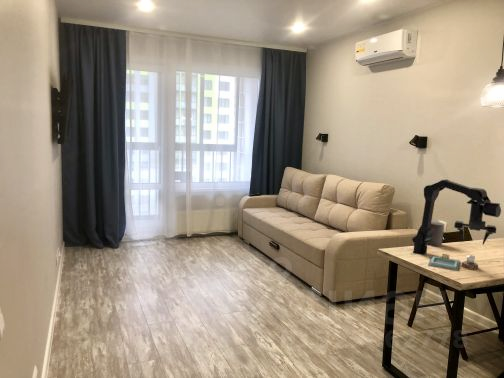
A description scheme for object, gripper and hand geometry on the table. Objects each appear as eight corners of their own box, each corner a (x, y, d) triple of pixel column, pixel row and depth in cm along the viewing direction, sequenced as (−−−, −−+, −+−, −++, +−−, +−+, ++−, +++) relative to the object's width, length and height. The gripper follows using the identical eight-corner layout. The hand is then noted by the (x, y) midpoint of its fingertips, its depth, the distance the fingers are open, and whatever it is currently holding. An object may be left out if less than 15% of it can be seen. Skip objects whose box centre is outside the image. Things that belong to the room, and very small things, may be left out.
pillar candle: (425, 245, 252) (427, 221, 250) (424, 241, 261) (427, 218, 259) (442, 247, 249) (445, 223, 246) (441, 243, 258) (444, 220, 255)
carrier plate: (428, 265, 213) (428, 260, 212) (431, 256, 228) (432, 251, 228) (457, 271, 206) (458, 265, 206) (459, 261, 222) (460, 256, 221)
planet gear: (461, 267, 212) (462, 256, 211) (462, 264, 218) (463, 253, 217) (477, 270, 208) (479, 259, 207) (477, 266, 214) (479, 255, 213)
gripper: (455, 213, 206) (451, 243, 209) (498, 218, 197) (494, 250, 200) (456, 210, 216) (453, 238, 218) (497, 214, 207) (493, 244, 209)
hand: (472, 243), depth 211 cm, fingers open, 9 cm apart
